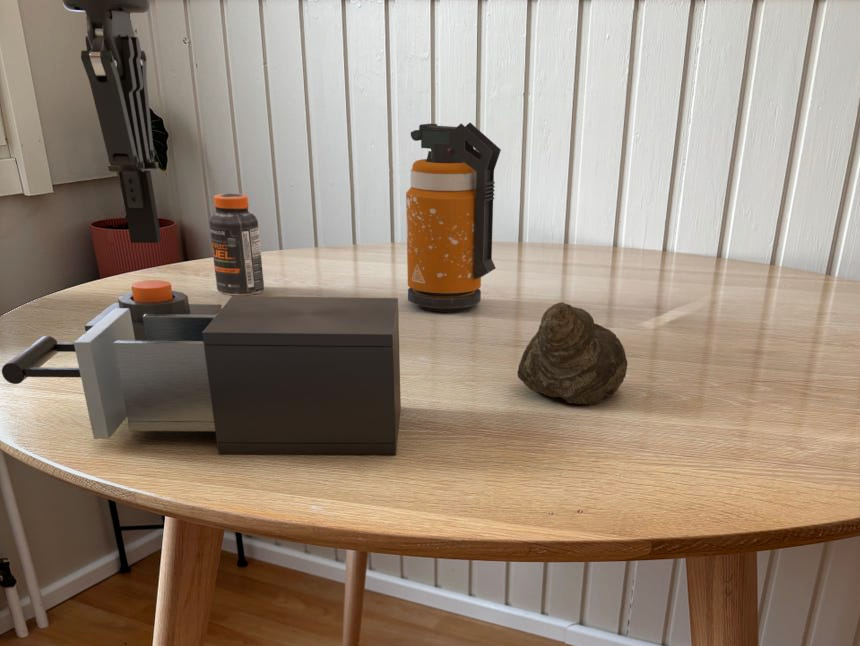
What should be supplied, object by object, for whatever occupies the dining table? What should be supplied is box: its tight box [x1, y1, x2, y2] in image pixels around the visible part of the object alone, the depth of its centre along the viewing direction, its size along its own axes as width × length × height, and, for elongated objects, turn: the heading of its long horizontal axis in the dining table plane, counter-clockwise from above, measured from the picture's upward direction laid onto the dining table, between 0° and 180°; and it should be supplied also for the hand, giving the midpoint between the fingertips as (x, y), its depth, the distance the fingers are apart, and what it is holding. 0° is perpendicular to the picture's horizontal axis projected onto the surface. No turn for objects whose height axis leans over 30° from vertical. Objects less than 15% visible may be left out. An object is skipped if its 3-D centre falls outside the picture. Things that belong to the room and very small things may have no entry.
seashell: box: [517, 302, 628, 406], centre depth 85 cm, size 11×12×10 cm
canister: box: [405, 122, 502, 313], centre depth 110 cm, size 9×11×20 cm
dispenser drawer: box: [1, 308, 216, 440], centre depth 75 cm, size 19×11×7 cm, turn 92°
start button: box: [130, 279, 173, 302], centre depth 99 cm, size 4×4×2 cm
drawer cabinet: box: [202, 295, 402, 456], centre depth 76 cm, size 14×12×9 cm
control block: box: [84, 290, 223, 341], centre depth 101 cm, size 12×10×4 cm
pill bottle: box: [208, 193, 265, 296], centre depth 117 cm, size 6×6×11 cm
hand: (146, 241), depth 97 cm, fingers closed
